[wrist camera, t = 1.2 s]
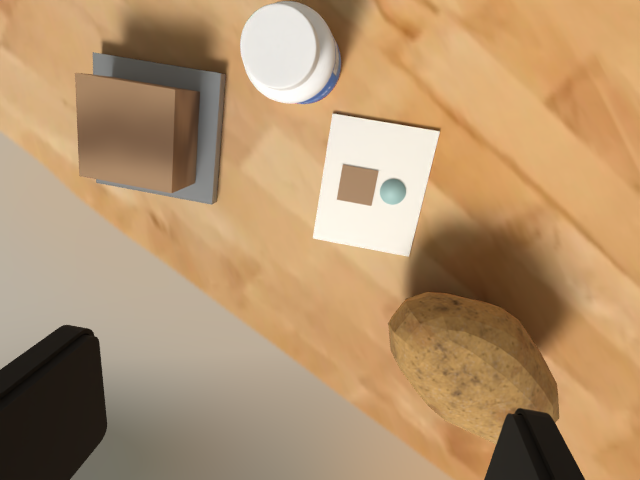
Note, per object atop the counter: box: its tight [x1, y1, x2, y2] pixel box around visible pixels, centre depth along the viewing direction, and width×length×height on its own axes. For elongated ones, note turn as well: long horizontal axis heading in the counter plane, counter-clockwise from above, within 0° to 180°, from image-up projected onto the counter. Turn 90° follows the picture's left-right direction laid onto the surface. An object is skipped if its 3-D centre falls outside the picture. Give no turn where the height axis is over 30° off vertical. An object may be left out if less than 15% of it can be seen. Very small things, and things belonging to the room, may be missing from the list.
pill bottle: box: [240, 1, 341, 104], centre depth 25 cm, size 6×5×10 cm
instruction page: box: [313, 114, 440, 257], centre depth 32 cm, size 10×8×1 cm
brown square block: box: [75, 73, 200, 193], centre depth 30 cm, size 7×7×4 cm
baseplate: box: [93, 52, 226, 204], centre depth 32 cm, size 10×10×1 cm
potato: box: [388, 292, 559, 444], centre depth 31 cm, size 10×14×8 cm
